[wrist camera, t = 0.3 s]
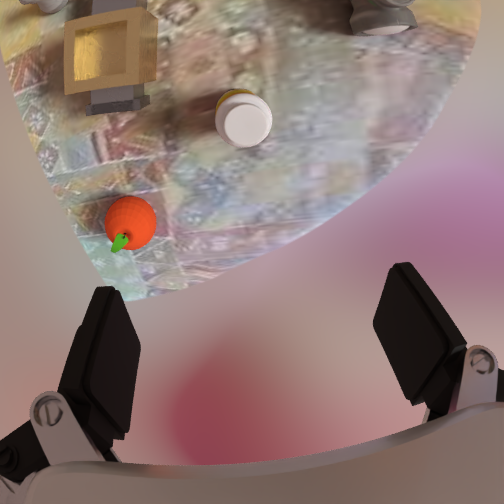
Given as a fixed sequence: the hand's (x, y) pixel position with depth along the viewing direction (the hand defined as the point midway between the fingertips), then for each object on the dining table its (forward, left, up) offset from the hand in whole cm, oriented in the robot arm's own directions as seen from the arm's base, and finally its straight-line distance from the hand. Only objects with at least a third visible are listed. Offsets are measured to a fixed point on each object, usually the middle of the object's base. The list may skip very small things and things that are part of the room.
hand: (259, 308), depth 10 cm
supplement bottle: (-2, +1, -31) cm, 31 cm away
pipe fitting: (-20, +15, -31) cm, 40 cm away
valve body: (-12, -13, -30) cm, 35 cm away
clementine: (+12, -13, -31) cm, 35 cm away
